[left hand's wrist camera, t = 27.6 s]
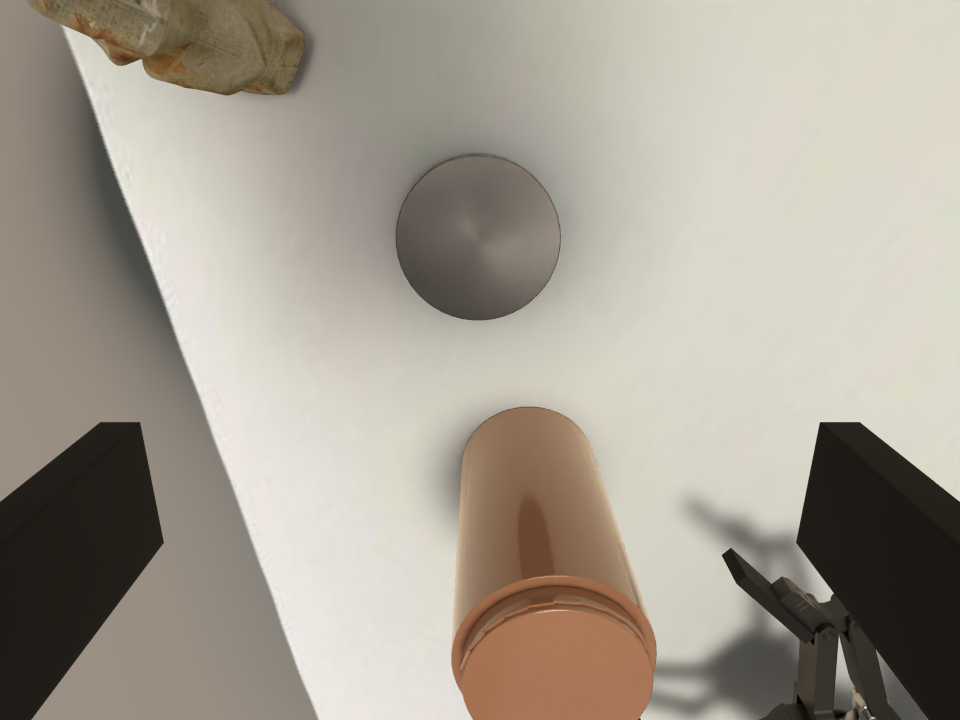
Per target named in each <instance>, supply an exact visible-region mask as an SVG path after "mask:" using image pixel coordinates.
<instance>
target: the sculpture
mask: <svg viewBox="0 0 960 720" xmlns="http://www.w3.org/2000/svg"><path fill="white" fill-rule="evenodd" d="M27 2H28V4H29V5H30V6H31V7H32V8H33V9H34V10H36V11H37V12H39V13H41V14H42V15H44V16H46V17H48V18H50V19H52V20H54V21H56V22H58V23H60V24H62V25H64V26H66V27H69V28H71V29H73V30H76V31H78V32H80V33H83V34H85V35H87V36H89V37H91V38H92V39H93V40H94V41H95V42H96V43H97V44H98V45H99V46H100V47H101V48H102V49H103V50H104V52H105V53H106V55H107V56H108V58H109V59H110V60H111V61H112V62H113V63H114V64H116V65H119V66H123V65H127V64H130V63H132V62H135V61H137V60H140V59H142V61H143V66H144V69H145V71H146V73H147V74H148V75H149V76H150V77H152V78H154V79H157V80H160V81H164V82H168V83H172V84H176V85H179V86H182V87H184V88H191V89H198V90H203V91H209V92H214V93H218V94H222V95H232V94H235V93H237V92H239V91H245V92H249V93H255V94H263V95H281V94H285V93H286V92H287V91H288V89H289V88H290V86H291V84H292V82H293V79H294V77H295V74H296V72H297V69H298V67H299V64H300V61H301V58H302V54H303V51H304V45H305V35H304V33H303V32H302V31H300V30H299V29H298V28H297V27H296V26H295V25H294V24H293V23H292V22H291V21H290V20H289V19H288V18H287V17H286V16H285V15H284V14H283V13H282V12H281V11H280V10H278V9H277V8H276V7H274V6H273V5H272V4H270V3H269V2H267V1H266V0H27Z"/></svg>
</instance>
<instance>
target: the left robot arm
mask: <svg viewBox="0 0 960 720" xmlns="http://www.w3.org/2000/svg"><path fill="white" fill-rule="evenodd" d="M163 543H164V541H163V536H162V531H161V526H160V521H159V516H158V511H157V506H156V501H155V496H154V491H153V486H152V481H151V476H150V470H149V465H148V460H147V455H146V450H145V445H144V440H143V435H142V430H141V425H140V422H100V423H99V424H98V425H96V426H95V427H94V428H93V429H91V430H90V431H89V432H88V433H86V434H85V435H84V436H83V437H81V438H80V439H79V440H78V441H76V442H75V443H74V444H72V445H71V446H70V447H69V448H67V449H66V450H65V451H64V452H62V453H61V454H60V455H59V456H57V457H56V458H55V459H54V460H52V461H51V462H50V463H49V464H47V465H46V466H45V467H44V468H42V469H41V470H40V471H38V472H37V473H36V474H35V475H34V476H32V477H31V478H30V479H28V480H27V481H26V482H25V483H23V484H22V485H21V486H20V487H18V488H17V489H16V490H15V491H13V492H12V493H11V494H10V495H8V496H7V497H6V498H5V499H3V500H2V501H1V502H0V720H31V719H32V718H33V717H34V715H35V714H36V713H37V711H38V710H39V709H40V707H41V706H42V705H43V703H44V702H45V701H46V699H47V698H48V697H49V695H50V694H51V693H52V691H53V690H54V689H55V687H56V686H57V685H58V683H59V682H60V681H61V679H62V678H63V677H64V675H65V674H66V673H67V671H68V670H69V668H70V667H71V666H72V665H73V663H74V662H75V661H76V659H77V658H78V657H79V655H80V654H81V653H82V651H83V650H84V649H85V647H86V646H87V645H88V643H89V642H90V641H91V639H92V638H93V637H94V635H95V634H96V633H97V631H98V630H99V629H100V627H101V626H102V624H103V623H104V622H105V621H106V619H107V618H108V616H109V615H110V614H111V613H112V611H113V610H114V608H115V607H116V606H117V604H118V603H119V602H120V600H121V599H122V598H123V596H124V595H125V594H126V592H127V591H128V590H129V588H130V587H131V586H132V584H133V583H134V582H135V580H136V579H137V578H138V576H139V575H140V574H141V572H142V571H143V570H144V568H145V567H146V566H147V564H148V563H149V562H150V560H151V559H152V558H153V556H154V555H155V554H156V552H157V551H158V550H159V548H160V547H161V546H162V544H163ZM796 543H797V544H798V546H799V547H800V548H801V550H802V551H803V552H804V554H805V555H806V556H807V558H808V559H809V560H810V562H811V563H812V564H813V566H814V567H815V568H816V570H817V571H818V572H819V574H820V575H821V576H822V578H823V579H824V580H825V582H826V583H827V584H828V586H829V587H830V588H831V590H832V591H833V592H834V594H835V595H836V596H837V598H838V599H839V600H840V602H841V603H842V604H843V606H844V607H845V608H846V610H847V611H848V613H849V614H850V615H851V617H852V618H853V619H854V621H855V622H856V623H857V625H858V626H859V627H860V629H861V630H862V631H863V633H864V634H865V635H866V637H867V638H868V639H869V641H870V642H871V643H872V645H873V646H874V647H875V649H876V650H877V651H878V653H879V654H880V655H881V657H882V658H883V659H884V661H885V662H886V663H887V665H888V666H889V667H890V669H891V670H892V671H893V673H894V674H895V675H896V677H897V678H898V679H899V681H900V682H901V683H902V685H903V686H904V687H905V689H906V690H907V691H908V693H909V694H910V695H911V697H912V698H913V699H914V701H915V702H916V703H917V705H918V706H919V707H920V709H921V710H922V711H923V713H924V714H925V715H926V717H927V718H928V719H929V720H960V502H959V501H958V500H957V499H955V498H954V497H953V496H952V495H950V494H949V493H948V492H947V491H945V490H944V489H943V488H942V487H940V486H939V485H938V484H937V483H935V482H934V481H933V480H932V479H930V478H929V477H928V476H927V475H925V474H924V473H923V472H922V471H920V470H919V469H918V468H916V467H915V466H914V465H913V464H911V463H910V462H909V461H908V460H906V459H905V458H904V457H903V456H901V455H900V454H899V453H898V452H896V451H895V450H894V449H893V448H891V447H890V446H889V445H888V444H886V443H885V442H884V441H883V440H881V439H880V438H879V437H877V436H876V435H875V434H874V433H872V432H871V431H870V430H869V429H867V428H866V427H865V426H864V425H862V424H861V423H860V422H820V425H819V430H818V435H817V440H816V445H815V450H814V455H813V460H812V465H811V470H810V475H809V481H808V486H807V491H806V496H805V501H804V506H803V511H802V516H801V521H800V526H799V531H798V536H797V541H796Z"/></svg>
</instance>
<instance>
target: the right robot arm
mask: <svg viewBox="0 0 960 720" xmlns="http://www.w3.org/2000/svg"><path fill="white" fill-rule="evenodd" d="M722 557H723V559H724V560H725V562H726V564H727V566H728V568H729V570H730V572H731V574H732V576H733V578H734V580H735V582H736V584H738V585H739V586H740V587H741V588H742V589H743V590H744V591H746V592H747V593H748V594H749V595H750V596H751V597H752V598H754V599H755V600H756V601H757V602H758V603H759V604H760V605H762V606H763V607H764V608H765V609H766V610H767V611H768V612H770V613H771V614H772V615H773V616H774V617H775V618H776V619H778V620H779V621H780V622H781V623H782V624H783V625H784V626H786V627H787V628H788V629H789V630H790V631H791V632H792V633H794V634H795V635H796V636H797V637H798V638H799V639H800V648H799V667H798V681H795V682H794V698H793V704H788V705H785V704H783V703H781V704H780V705H779V706H777V707H776V708H774V709H773V710H772V711H771V712H770V713H769V715H768V716H767V717H764V718H762V719H760V720H901V719H900V717H899V716H898V714H897V713H896V711H895V710H894V708H893V707H892V705H891V704H890V702H889V701H888V699H887V697H886V693H885V688H884V684H883V680H882V675H881V671H880V666H879V662H878V657H877V653H876V649H875V647H874V646H873V645H872V643H871V642H870V641H869V639H868V638H867V637H866V635H865V634H864V633H863V631H862V630H861V629H860V627H859V626H858V625H857V623H856V622H855V621H854V619H853V618H852V617H851V615H850V614H849V613H848V611H847V610H846V608H845V607H844V606H843V604H842V603H841V602H840V600H839V599H838V598H837V596H836V595H835V594H833V595H832V596H831V601H828V602H825V603H818V601H817V600H816V598H815V597H814V596H813V595H812V594H808V593H806V594H805V593H804V592H803V591H802V590H801V589H799V587H797V586H796V585H795V584H794V583H793V582H792V581H791V580H790V579H787V578H784V577H781V578H779V579H778V580H777V581H775V582H774V583H773V584H771V583H770V582H769V581H768V580H766V579H765V578H764V577H763V576H762V575H761V574H760V573H759V572H757V571H756V570H755V569H754V568H753V567H752V566H751V565H750V564H748V563H747V562H746V561H745V560H744V559H743V558H742V557H741V556H740V555H738V554H737V553H736V552H735V551H734V550H733V549H732V548H730V549H729V550H728V551H726V552H725V553H724V554H723V555H722ZM838 633H839V634H838ZM839 637H840V641H841V645H842V649H843V653H844V657H845V661H846V665H847V669H848V673H849V676H850V679H851V681H852V683H853V684H854V686H855V688H852V689H851V691H850V692H851V694H852V696H853V697H852V699H851V702H852V709H851V710H850V711H849V712H847V711H845V710H843V709H841V708H834V707H833V703H834V690H835V677H836V664H837V651H838V638H839ZM638 720H641V719H640V718H639V719H638Z"/></svg>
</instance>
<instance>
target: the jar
mask: <svg viewBox="0 0 960 720" xmlns="http://www.w3.org/2000/svg"><path fill="white" fill-rule="evenodd" d="M656 655H657V651H656V641H655V636H654V632H653V629H652V626H651V623H650V620H649V618H648V615H647V612H646V609H645V606H644V603H643V600H642V597H641V594H640V591H639V588H638V585H637V582H636V579H635V576H634V573H633V570H632V567H631V564H630V561H629V558H628V556H627V553H626V550H625V547H624V544H623V541H622V538H621V535H620V532H619V529H618V526H617V523H616V520H615V517H614V514H613V511H612V508H611V505H610V502H609V499H608V497H607V494H606V491H605V488H604V485H603V482H602V479H601V476H600V473H599V470H598V467H597V464H596V461H595V458H594V455H593V452H592V449H591V447H590V444H589V442H588V440H587V438H586V436H585V435H584V433H583V432H582V431H581V430H580V428H579V427H578V426H577V425H576V424H574V423H573V422H572V421H571V420H569V419H568V418H566V417H565V416H563V415H561V414H559V413H556V412H554V411H551V410H547V409H543V408H536V407H522V408H515V409H511V410H507V411H504V412H502V413H499V414H497V415H495V416H493V417H491V418H490V419H488V420H487V421H486V422H484V423H483V424H482V425H481V426H480V427H479V428H478V429H477V430H476V431H475V432H474V433H473V434H472V436H471V438H470V439H469V441H468V443H467V445H466V447H465V450H464V453H463V457H462V466H461V484H460V503H459V522H458V540H457V559H456V578H455V596H454V615H453V634H452V652H451V659H452V669H453V675H454V678H455V680H456V683H457V685H458V687H459V689H460V691H461V693H462V694H463V698H464V702H465V704H466V707H467V710H468V711H469V713H470V715H471V717H472V718H473V720H638V719H639V718H640V716H641V715H642V713H643V712H644V710H645V708H646V706H647V704H648V702H649V700H650V696H651V693H652V687H653V672H654V668H655V664H656Z"/></svg>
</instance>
